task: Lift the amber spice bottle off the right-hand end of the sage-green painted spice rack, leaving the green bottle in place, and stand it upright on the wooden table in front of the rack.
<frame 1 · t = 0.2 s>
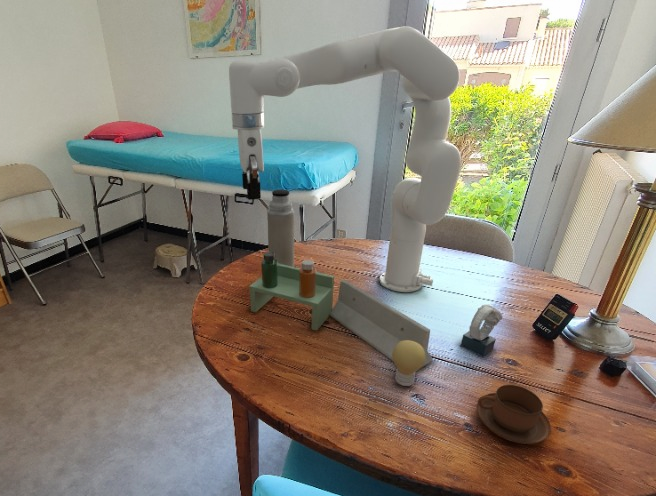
hand: (251, 193, 102), 31 cm above the table, tool pointing down, fingers open, 9 cm apart
green bottle: (269, 284, 108), point 8 cm above the table, touching spice rack
thermos bottle: (281, 278, 129), on the table
amber bottle: (307, 294, 103), point 8 cm above the table, touching spice rack
light bulb: (403, 382, 86), on the table
barrier: (376, 337, 100), on the table
cup and saucer: (509, 424, 75), on the table
watch: (476, 348, 95), on the table
spice rack: (291, 311, 111), on the table
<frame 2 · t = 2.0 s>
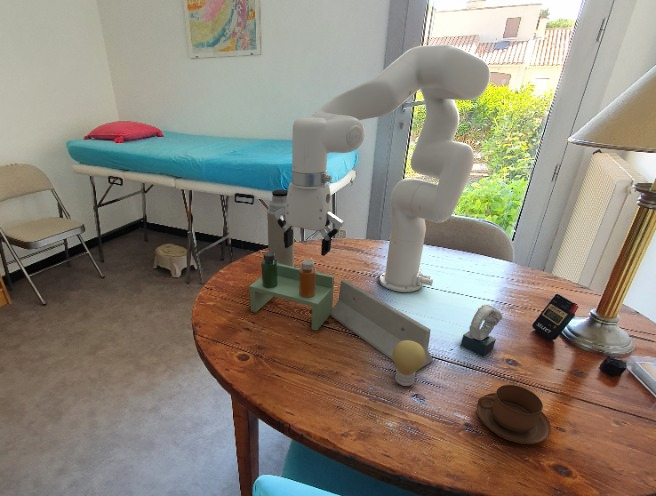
hand: (306, 249, 97), 20 cm above the table, tool pointing down, fingers open, 9 cm apart
nothing on the table moved.
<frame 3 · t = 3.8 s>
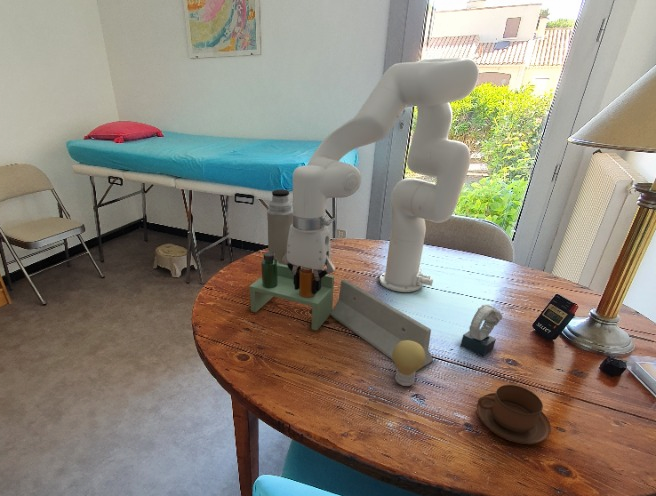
hand: (307, 289, 102), 9 cm above the table, tool pointing down, fingers closed on amber bottle, 4 cm apart
amber bottle: (307, 294, 103), point 8 cm above the table, touching gripper, spice rack
everything else where it was.
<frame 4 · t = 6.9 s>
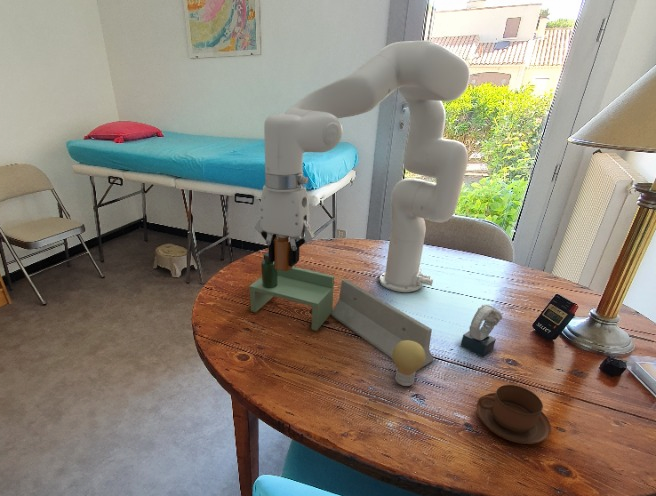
hand: (283, 261, 91), 21 cm above the table, tool pointing down, fingers closed on amber bottle, 4 cm apart
amber bottle: (283, 267, 91), point 19 cm above the table, touching gripper
everything else where it was.
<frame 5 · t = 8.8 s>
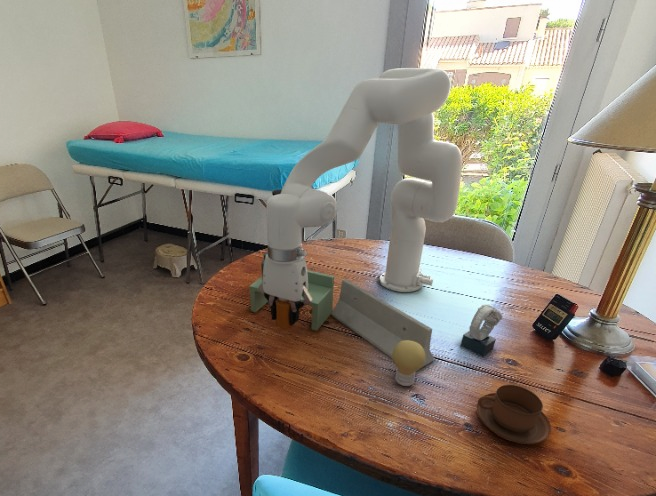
hand: (284, 319, 98), 5 cm above the table, tool pointing down, fingers closed on amber bottle, 4 cm apart
amber bottle: (284, 324, 99), point 4 cm above the table, touching gripper
everything else where it was.
when the fingers open (1 cm above the table, at t = 10.2 s): amber bottle stays where it is, on the table.
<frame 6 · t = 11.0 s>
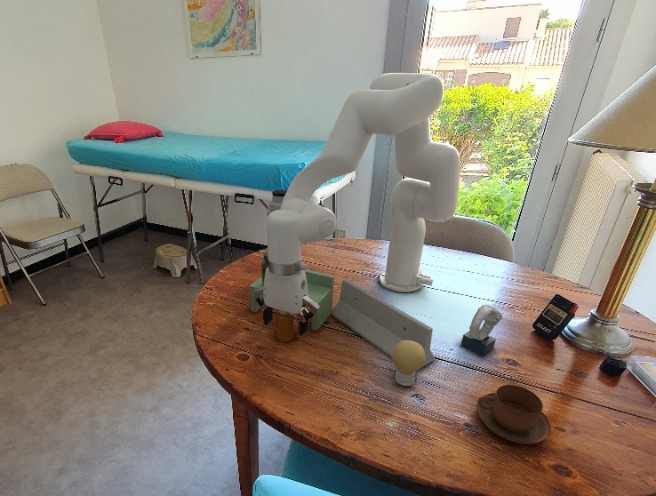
hand: (285, 327, 99), 3 cm above the table, tool pointing down, fingers open, 9 cm apart
amber bottle: (284, 336, 101), on the table
everything else where it was.
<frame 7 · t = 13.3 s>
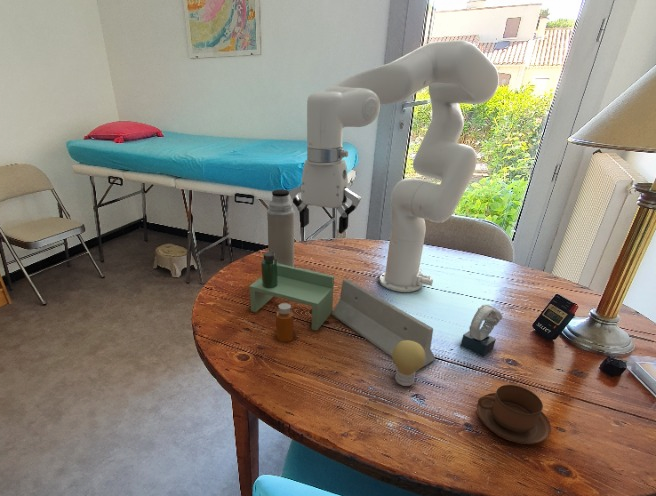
hand: (323, 228, 96), 25 cm above the table, tool pointing down, fingers open, 9 cm apart
nothing on the table moved.
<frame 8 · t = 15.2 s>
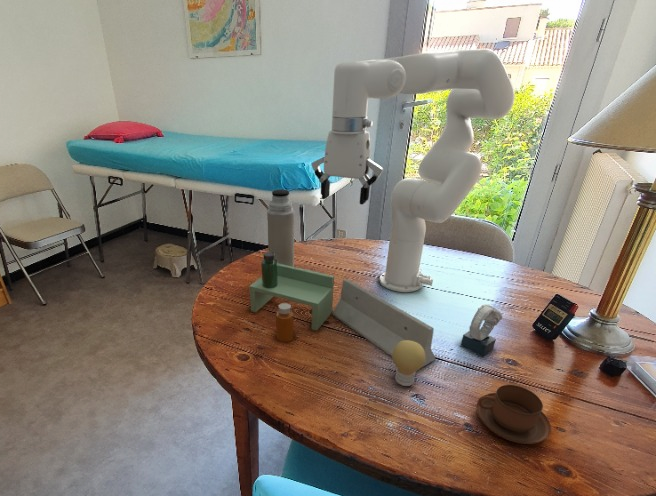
hand: (343, 200, 98), 30 cm above the table, tool pointing down, fingers open, 9 cm apart
nothing on the table moved.
at the end: amber bottle inside the target area (0.1 cm from its centre), on the table; amber bottle tilted 0°; green bottle moved 0.0 cm from its start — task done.
